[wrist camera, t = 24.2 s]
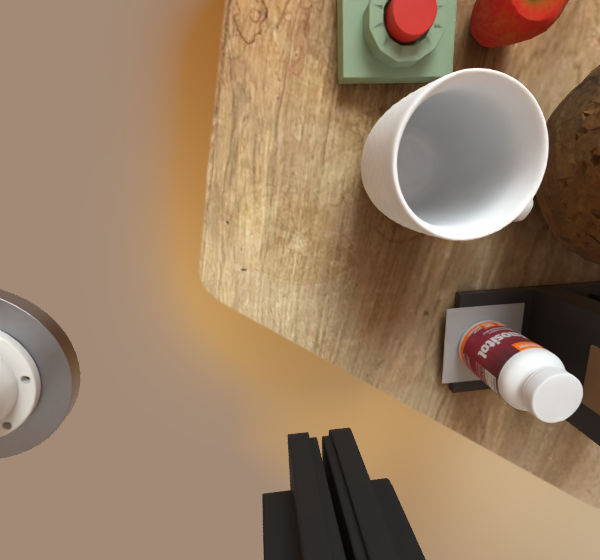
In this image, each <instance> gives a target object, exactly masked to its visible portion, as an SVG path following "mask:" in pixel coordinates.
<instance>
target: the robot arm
mask: <svg viewBox="0 0 600 560" xmlns="http://www.w3.org/2000/svg"><path fill="white" fill-rule="evenodd" d="M40 391H41V381H40V376H39V372H38V369H37V367H36V364H35V362H34V360H33V359H32V357H31V356H30V354H29V353H28V352H27V350H26V349H25V348H24V347H23V346H22V345H21V344H20V343H19V342H18V341H16V340H15V339H14V338H12V337H11V336H9V335H8V334H6V333H5V332H3V331H1V330H0V437H2V436H5V435H7V434H9V433H10V432H12V431H14V430H15V429H17V428H18V427H19V426H20V425H21V424H22V423H24V422H25V420H26V419H27V418H28V417H29V416H30V415H31V414H32V413H33V411H34V409H35V407H36V405H37V404H38V400H39V397H40ZM288 450H289V468H290V486H291V490H289V491H281V492H274V493H265V494H263V543H264V560H425V557H424V555H423V553H422V551H421V548H420V546H419V544H418V542H417V540H416V537H415V535H414V533H413V531H412V528H411V526H410V524H409V522H408V520H407V518H406V515H405V513H404V511H403V509H402V506H401V504H400V502H399V500H398V497H397V495H396V493H395V491H394V488H393V486H392V485H391V483H390V481H389V480H388V479H387V478H385V479H377V480H370V478H369V475H368V473H367V470H366V467H365V465H364V462H363V460H362V457H361V455H360V452H359V449H358V447H357V444H356V442H355V439H354V436H353V434H352V431H351V429H350V428H343V429H334V430H329V436H323V437H322V457H323V462H322V458H321V453H320V449H319V445H318V441H317V438H316V437H314V438H309V434H308V432H306V433H297V434H288Z"/></svg>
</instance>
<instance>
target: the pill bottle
mask: <svg viewBox="0 0 600 560" xmlns="http://www.w3.org/2000/svg"><path fill="white" fill-rule="evenodd" d="M459 355H460V358H461V360H462V362H463V363H464V364H465V366H466V367H467V368H468V369H470V370H471V371H472V372H473V373H474V374H475V375H476V376H477V377H479V378H480V379H481V380H482V381H483V382H484V383H485V384H486V385H488V386H489V387H490V388H491V389H492V390H493V391H494V392H495V393H497V394H498V395H499V396H500V397H501V398H502V399H503V400H504V401H506V402H507V403H508V404H509V405H511V406H512V407H514V408H516V409H519V410H522V411H529V412H530V413H531V414H533V415H534V416H535V417H536V418H538V419H539V420H541V421H543V422H547V423H556V422H560V421H563V420H565V419H567V418H568V417H570V416H571V415H572V414H573V413H574V412H575V411H576V410H577V408H578V407H579V405H580V403H581V401H582V397H583V388H582V385H581V383H580V381H579V380H578V379H577V378H576V377H575V376H573V375H572V374H570V373H568V372H567V371H566V370H565V367H564V365H563V363H562V362H561V360H560V359H559V358H558V357H557V356H556V355H555V354H553V353H551V352H550V351H548V350H547V349H545V348H543V347H542V346H540V345H538V344H536V343H535V342H533V341H531V340H530V339H528V338H526V337H525V336H523V335H521V334H519V333H518V332H516V331H514V330H513V329H511V328H509V327H508V326H506V325H504V324H502V323H500V322H498V321H493V320H485V321H481V322H478V323H476V324H474V325H472V326H471V327H470V328H469V329H468V330H467V331H466V332H465V333H464V334H463V336H462V338H461V340H460V343H459Z"/></svg>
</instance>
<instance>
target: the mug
mask: <svg viewBox="0 0 600 560" xmlns="http://www.w3.org/2000/svg"><path fill="white" fill-rule="evenodd" d="M548 149H549V142H548V131H547V126H546V121H545V118H544V115H543V113H542V111H541V108H540V107H539V105H538V103H537V101H536V100H535V98H534V96H533V95H532V94H531V93H530V91H529V90H528V89H527V88H526V87H525V86H524V85H522V84H521V83H520V82H519V81H517V80H516V79H514V78H513V77H511V76H509V75H507V74H505V73H502V72H499V71H495V70H491V69H483V68H472V69H464V70H459V71H456V72H453V73H450V74H448V75H445V76H443V77H441V78H439V79H437V80H435V81H433V82H430V83H429V84H427V85H426V86H424V87H421V88H419V89H418V90H416V91H415V92H413V93H410V94H409V95H408V96H407V97H404V98H403V99H402V100H400V101H399V102H398V103H396V104H394V105H393V106H392V107H391V108H390V109H389V110H387V111H386V112H385V113H384V115H383V116H382V117H381V118H379V120H378V121H377V123H376V124H375V125H374V127H373V128H372V130H371V132H370V133H369V135H368V137H367V140H366V142H365V145H364V148H363V153H362V158H361V177H362V182H363V185H364V188H365V191H366V192H367V195H368V196H369V198H370V199H371V201H372V202H373V204H374V205H375V206H376V207H377V208H378V210H380V211H381V212H382V213H383V214H384V215H386V216H387V217H388V218H389V219H391V220H394V222H396V223H398V224H401V225H402V226H404V227H408V228H409V229H411V230H415V231H417V232H419V233H424V234H426V235H430V236H434V237H438V238H441V239H445V240H451V241H468V240H475V239H479V238H482V237H486V236H488V235H490V234H493V233H495V232H497V231H499V230H501V229H502V228H504V227H505V226H507V225H508V224H510V223H511V222H512V221H516V222H517V221H521V220H523V219H524V218H526V216H527V215H528V214H529V213H530V211H531V209H532V207H533V198H534V196H535V194H536V192H537V190H538V188H539V186H540V184H541V181H542V179H543V176H544V173H545V170H546V165H547V160H548Z"/></svg>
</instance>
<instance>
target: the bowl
mask: <svg viewBox="0 0 600 560" xmlns="http://www.w3.org/2000/svg"><path fill="white" fill-rule="evenodd" d="M546 126H547V131H548V142H549V149H548V160H547V165H546V170H545V173H544V176H543V179H542V181H541V184H540V186H539V188H538V190H537V192H536V197H537V200H538V204H539V207H540V209H541V212H542V215H543V217H544V219H545V221H546V223H547V225H548V226H549V227H550V228H551V230H552V231H553V233H554V235H555V236H556V237H557V238H558V240H559V241H560V242H561V243H562V244H563V245H564V246H566V247H567V248H568V249H569V250H571V251H573V252H574V253H576V254H578V255H580V256H581V257H583V258H584V259H586V260H589V261H592V262H594V263H597V264H600V65H599V66H598V67H597V68H595V69H594V70H593V71H592V72H591V73H590V74H589V75H588V76H587V77H586V78H585V79H584V81H583V82H582V83H580V84H579V85H578V86H577V87H575V88H574V89H573V90H572V91H571V92H570V93H569V94H568V95H567V96H566V98H565V99H564V100H563V101H562V102H561V103H560V104H559V105H558V107H557V108H556V109H555V110H554V112H553V113H552V114H551V116H550V118H549V120H548V121H547V123H546Z"/></svg>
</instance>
